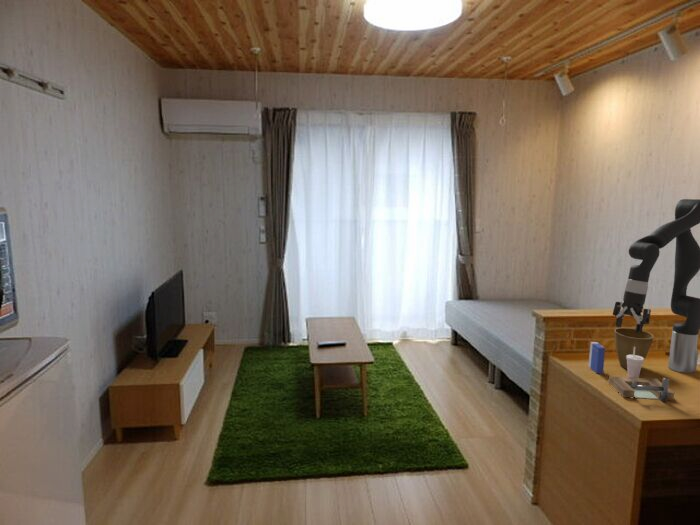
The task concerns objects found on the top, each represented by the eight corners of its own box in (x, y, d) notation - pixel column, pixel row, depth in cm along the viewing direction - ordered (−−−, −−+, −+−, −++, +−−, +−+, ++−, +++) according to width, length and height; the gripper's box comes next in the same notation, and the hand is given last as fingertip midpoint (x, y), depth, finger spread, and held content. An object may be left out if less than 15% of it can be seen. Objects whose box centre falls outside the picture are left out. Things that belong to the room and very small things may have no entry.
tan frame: (655, 385, 186) (656, 378, 185) (673, 400, 173) (674, 392, 173) (608, 383, 188) (609, 376, 188) (622, 397, 176) (623, 390, 175)
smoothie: (625, 374, 197) (628, 343, 195) (642, 378, 193) (646, 346, 191) (622, 379, 192) (626, 347, 190) (640, 383, 188) (644, 351, 186)
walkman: (602, 373, 198) (605, 347, 196) (596, 373, 198) (598, 347, 196) (594, 366, 206) (596, 341, 204) (588, 366, 206) (590, 341, 204)
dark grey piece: (664, 400, 173) (667, 377, 172) (667, 402, 171) (670, 380, 170) (629, 398, 175) (631, 376, 173) (631, 400, 173) (634, 378, 172)
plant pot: (615, 370, 201) (618, 336, 198) (608, 359, 215) (611, 326, 212) (654, 375, 196) (658, 339, 194) (644, 362, 210) (647, 329, 207)
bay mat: (647, 389, 182) (647, 388, 182) (658, 399, 174) (658, 398, 174) (624, 388, 184) (624, 387, 183) (634, 397, 175) (634, 397, 175)
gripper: (659, 295, 179) (650, 335, 181) (626, 288, 192) (618, 325, 194) (646, 294, 176) (637, 335, 178) (613, 287, 190) (606, 324, 191)
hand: (627, 330), depth 186 cm, fingers open, 8 cm apart
